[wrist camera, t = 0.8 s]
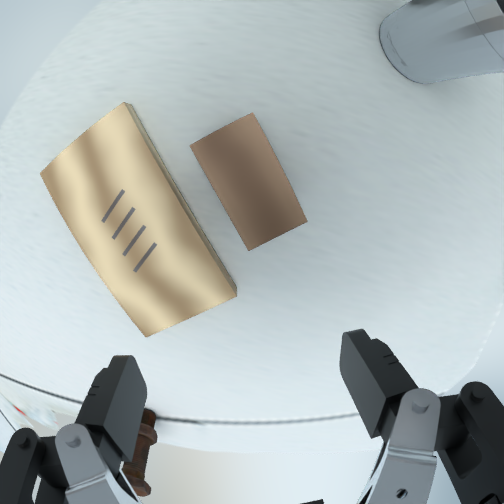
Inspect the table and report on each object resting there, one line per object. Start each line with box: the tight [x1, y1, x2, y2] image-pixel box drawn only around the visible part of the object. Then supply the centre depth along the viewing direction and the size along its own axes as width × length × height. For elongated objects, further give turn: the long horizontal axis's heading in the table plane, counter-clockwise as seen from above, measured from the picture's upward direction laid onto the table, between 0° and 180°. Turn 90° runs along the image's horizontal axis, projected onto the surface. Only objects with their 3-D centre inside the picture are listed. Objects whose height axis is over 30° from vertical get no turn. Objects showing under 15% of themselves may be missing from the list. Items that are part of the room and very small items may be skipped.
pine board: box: [40, 102, 237, 337], centre depth 27 cm, size 12×22×2 cm, turn 27°
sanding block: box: [190, 113, 308, 251], centre depth 23 cm, size 5×9×7 cm, turn 27°
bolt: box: [121, 410, 157, 496], centre depth 31 cm, size 6×5×15 cm
